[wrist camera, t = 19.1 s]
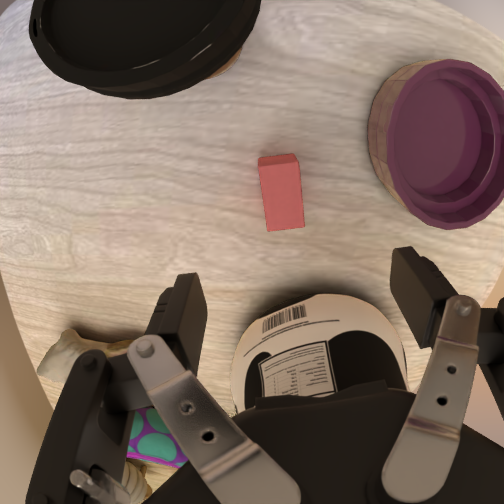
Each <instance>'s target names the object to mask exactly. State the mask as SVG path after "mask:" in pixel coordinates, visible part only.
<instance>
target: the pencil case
mask: <svg viewBox="0 0 504 504" xmlns="http://www.w3.org/2000/svg"><path fill="white" fill-rule="evenodd" d="M126 458H133V459H139V460H142V461H148V462H154V463H157V464H162V465H166V466H172V467H175V468H180V467H182V466H183V465H184V464H185V463H186V462H187V461H188V460H189V459H188V458H187V457H186V455H185V454H184V452H183V451H182V449H181V448H180V446H179V445H178V443H177V442H176V440H175V439H174V437H173V436H172V434H171V433H170V431H169V430H168V428H167V427H166V425H165V423H164V422H163V420H162V419H161V417H160V415H159V414H158V412H157V410H156V409H154V408H150V407H143V408H139V409H136V412H135V417H134V421H133V426H132V431H131V436H130V441H129V446H128V451H127V456H126Z"/></svg>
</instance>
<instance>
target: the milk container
mask: <svg viewBox="0 0 504 504" xmlns="http://www.w3.org/2000/svg"><path fill="white" fill-rule="evenodd" d="M383 379H385V382H386V384H387V387H388V388H395V389H401V390H406V391H409V392H410V389H409V385H408V380H407V367H406V358H405V352H404V349H403V345H402V342H401V340H400V338H399V336H398V334H397V332H396V331H395V329H394V328H393V326H392V325H391V323H390V322H389V321H388V320H387V318H386V317H385V316H384V315H383V314H382V313H381V312H380V311H379V310H378V309H377V308H375V307H374V306H372V305H371V304H369V303H367V302H365V301H362V300H360V299H357V298H355V297H352V296H348V295H342V294H331V293H319V294H312V295H307V296H302V297H297V298H293V299H290V300H288V301H285V302H283V303H281V304H279V305H277V306H275V307H273V308H271V309H269V310H267V311H266V312H264V313H263V314H262V315H261V316H260V317H259V318H258V319H256V320H255V321H254V322H253V323H252V324H251V325H250V326H249V327H248V328H247V330H246V331H245V332H244V334H243V335H242V337H241V339H240V341H239V343H238V346H237V348H236V351H235V354H234V357H233V361H232V366H231V373H230V386H231V393H232V397H233V401H234V405H235V408H236V413H237V414H238V413H240V412H242V411H244V410H247V409H249V408H253V407H255V397H268V396H279V395H298V396H310V397H325V396H328V395H331V394H333V393H336V392H338V391H341V390H343V389H346V388H348V387H351V386H353V385H357V384H363V383H368V382H373V381H378V380H383Z"/></svg>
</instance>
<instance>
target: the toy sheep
mask: <svg viewBox="0 0 504 504" xmlns="http://www.w3.org/2000/svg"><path fill="white" fill-rule="evenodd" d="M146 469H147V467H146V466H141V469H140V471H139V470H138V469H137V468H135V466H134V465H133V464H132V463H131V462H128V461H126V462H125V467H124V473H123V478H122V485H123V486H124V487H125V488H126V489H127V490H128V492H129V494H130V497H131V504H138V503H140V502H141V501H142V500H145V499H147V498H148V497H149V496H150V495H151V494H152V488H151V487H150V486H149V485H148V484H147V481H146V479H145V473H146Z"/></svg>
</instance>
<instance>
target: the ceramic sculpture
mask: <svg viewBox="0 0 504 504" xmlns="http://www.w3.org/2000/svg"><path fill="white" fill-rule="evenodd" d="M133 341H134V340H124V341H119V342H116V343H104V342H97V341H92V340H87V339H83V338H81V337H80V336H79V335H78V333H77V332H76V331H75V330H73V329H67V330H65V331H64V332H63V333H62V334H61V337H60V339H59V341H58V342H57V343H55V344H54V345H53V346H51V347H50V349H49V351H48V352H47V353H46V355H45V357H44V358H43V360H42V361H41V363H40V365H39V367H38V369H37V375H39V376H43V377H45V378H47V379H49V380H51V381H53V382H58V383H65V382H66V380H67V378H68V375H69V373H70V371H71V368H72V366H73V364H74V362H75V360H76V359H77V358H78V357H79V356H80V355H81V354H82V353H84V352H86V351H88V350H92V349H99V350H102V351H103V352H104V353H105V355H106V356H107V358H110V357H114V356H118V355H121V354H125V353H127V349H128V347H129V346H130V344H131V343H132V342H133Z"/></svg>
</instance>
